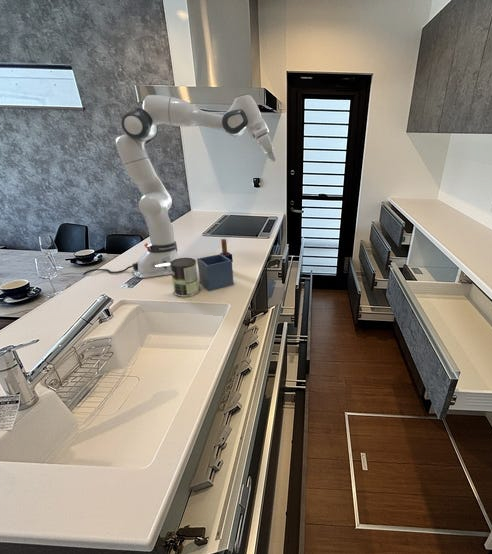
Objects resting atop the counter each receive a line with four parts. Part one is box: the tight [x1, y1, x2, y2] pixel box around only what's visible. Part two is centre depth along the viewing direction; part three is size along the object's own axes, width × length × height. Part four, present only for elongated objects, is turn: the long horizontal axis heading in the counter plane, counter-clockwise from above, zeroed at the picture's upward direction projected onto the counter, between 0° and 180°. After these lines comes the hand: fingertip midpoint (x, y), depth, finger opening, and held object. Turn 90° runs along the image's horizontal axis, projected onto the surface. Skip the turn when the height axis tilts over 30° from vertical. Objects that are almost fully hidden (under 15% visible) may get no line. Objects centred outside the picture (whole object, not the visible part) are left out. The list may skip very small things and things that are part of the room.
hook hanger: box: [219, 238, 234, 263], centre depth 151 cm, size 6×4×17 cm, turn 39°
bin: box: [196, 253, 234, 291], centre depth 140 cm, size 12×12×12 cm
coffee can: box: [170, 257, 200, 298], centre depth 130 cm, size 10×10×14 cm
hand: (273, 160), depth 146 cm, fingers open, 8 cm apart
